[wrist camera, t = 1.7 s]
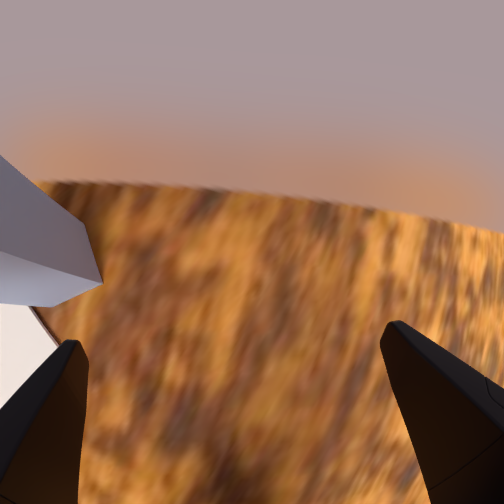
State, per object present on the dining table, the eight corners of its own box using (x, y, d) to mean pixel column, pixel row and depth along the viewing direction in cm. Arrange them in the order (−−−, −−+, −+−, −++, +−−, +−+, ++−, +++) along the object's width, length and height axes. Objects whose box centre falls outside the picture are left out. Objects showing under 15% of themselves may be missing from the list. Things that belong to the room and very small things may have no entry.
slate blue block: (103, 283, 21) (-1, 250, 8) (51, 307, 20) (-68, 295, 7) (84, 224, 22) (-10, 146, 9) (35, 249, 21) (-74, 197, 8)
